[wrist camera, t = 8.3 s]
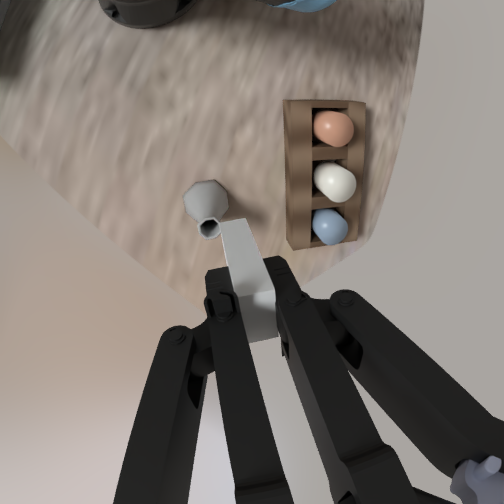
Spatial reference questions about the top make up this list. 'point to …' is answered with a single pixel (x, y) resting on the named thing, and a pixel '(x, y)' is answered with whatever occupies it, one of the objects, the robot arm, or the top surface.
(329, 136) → the peach orange ball
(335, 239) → the blue rounded lump
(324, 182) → the off-white round ball
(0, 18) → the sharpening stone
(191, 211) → the flask
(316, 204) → the wooden egg tray
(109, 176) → the top surface
